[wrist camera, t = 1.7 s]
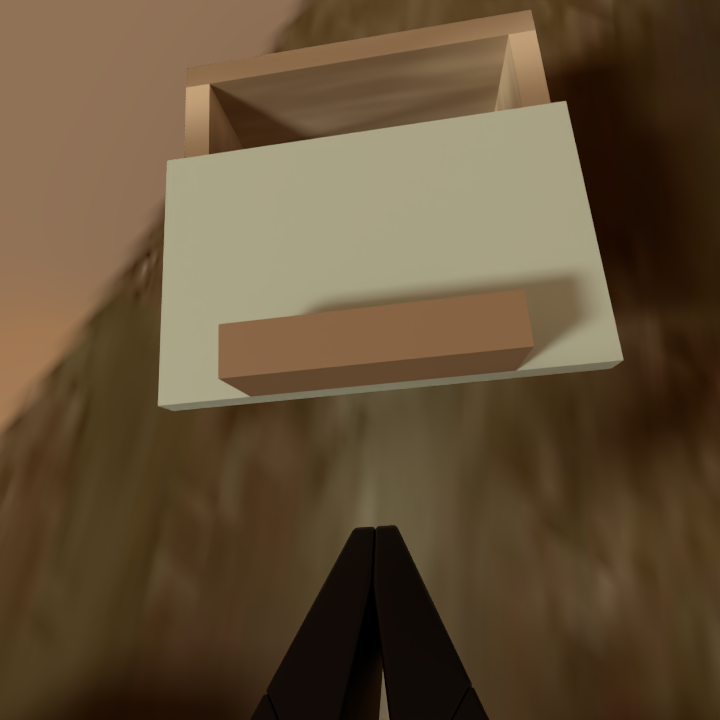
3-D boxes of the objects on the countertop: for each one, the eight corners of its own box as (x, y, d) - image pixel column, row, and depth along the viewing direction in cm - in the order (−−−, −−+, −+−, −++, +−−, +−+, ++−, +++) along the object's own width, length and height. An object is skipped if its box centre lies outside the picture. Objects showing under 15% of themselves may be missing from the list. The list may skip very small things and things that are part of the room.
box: (527, 301, 25) (574, 214, 17) (253, 332, 26) (181, 264, 18) (500, 147, 27) (531, 9, 19) (250, 182, 28) (186, 68, 21)
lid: (610, 368, 15) (663, 333, 12) (173, 410, 17) (109, 390, 13) (558, 122, 18) (589, 34, 14) (180, 177, 19) (127, 109, 16)
